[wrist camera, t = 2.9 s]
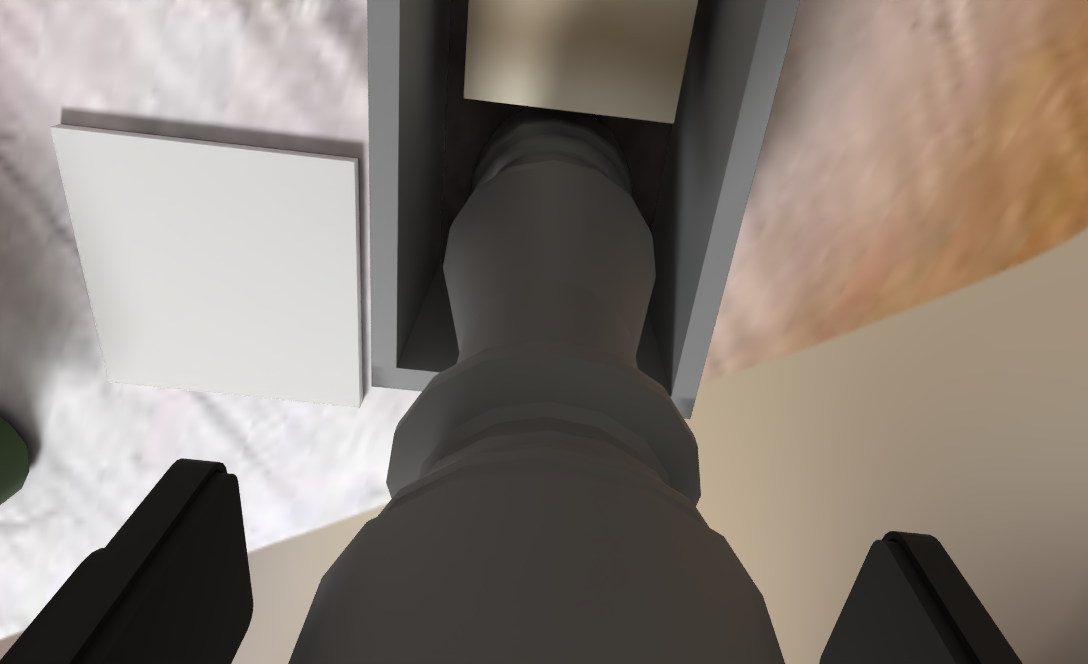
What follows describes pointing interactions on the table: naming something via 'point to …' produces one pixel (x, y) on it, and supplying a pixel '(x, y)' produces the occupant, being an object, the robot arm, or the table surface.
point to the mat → (218, 263)
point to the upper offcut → (580, 55)
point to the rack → (682, 209)
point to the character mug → (11, 461)
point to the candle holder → (542, 450)
